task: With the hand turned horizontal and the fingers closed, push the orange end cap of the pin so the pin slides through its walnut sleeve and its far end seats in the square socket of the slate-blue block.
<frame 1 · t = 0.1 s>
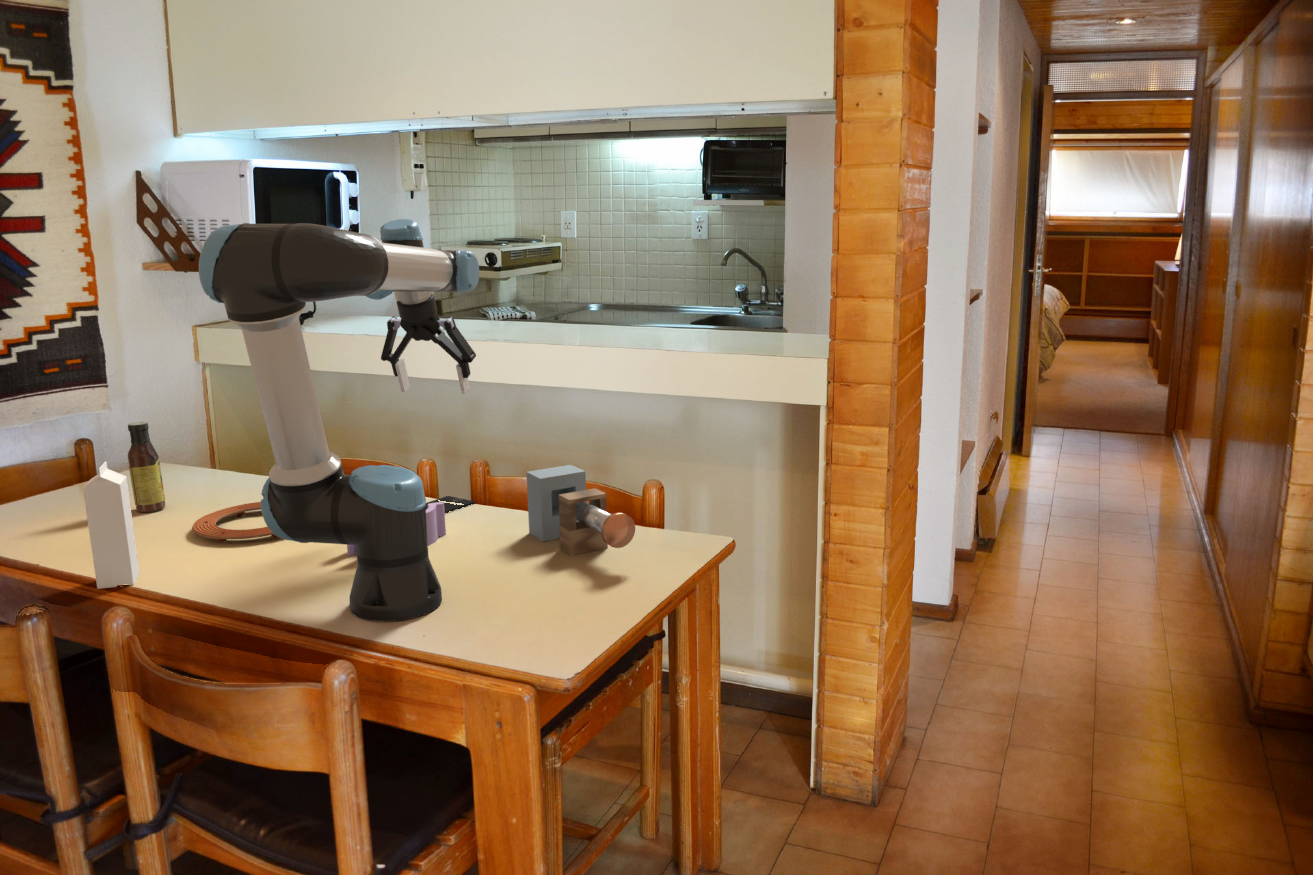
hand: (435, 389, 219), 28 cm above the table, tool tilted 20°, fingers open, 13 cm apart
ring: (258, 528, 221), on the table
socket block: (558, 532, 213), on the table
milk: (119, 582, 189), on the table
sauce bottle: (150, 510, 234), on the table
pin: (597, 518, 196), point 8 cm above the table, slide at 0.0 cm
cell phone: (433, 512, 230), on the table
sleeve: (584, 548, 203), on the table
clip: (396, 545, 208), on the table
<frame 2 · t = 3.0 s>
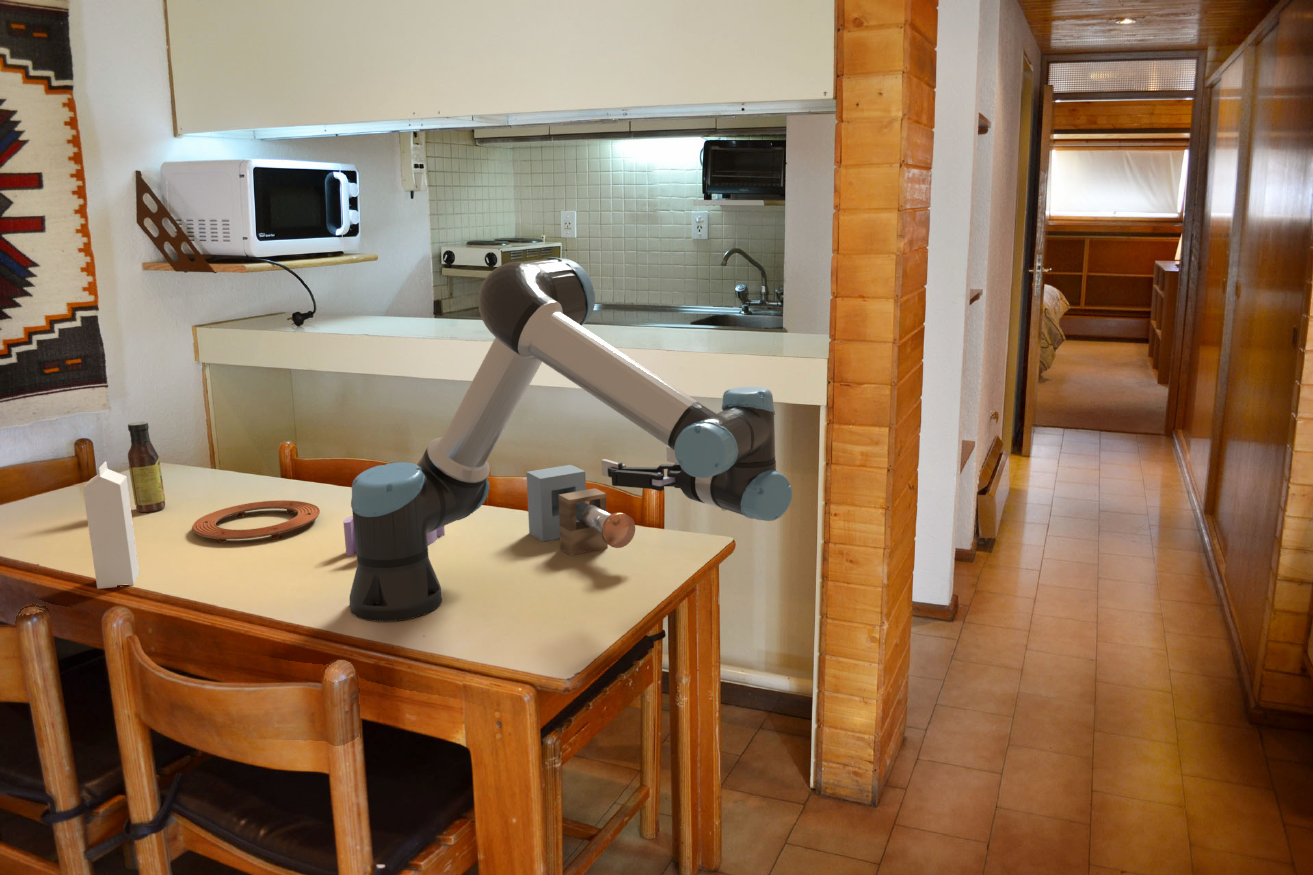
hand: (636, 460, 181), 22 cm above the table, tool horizontal, fingers open, 13 cm apart
nothing on the table moved.
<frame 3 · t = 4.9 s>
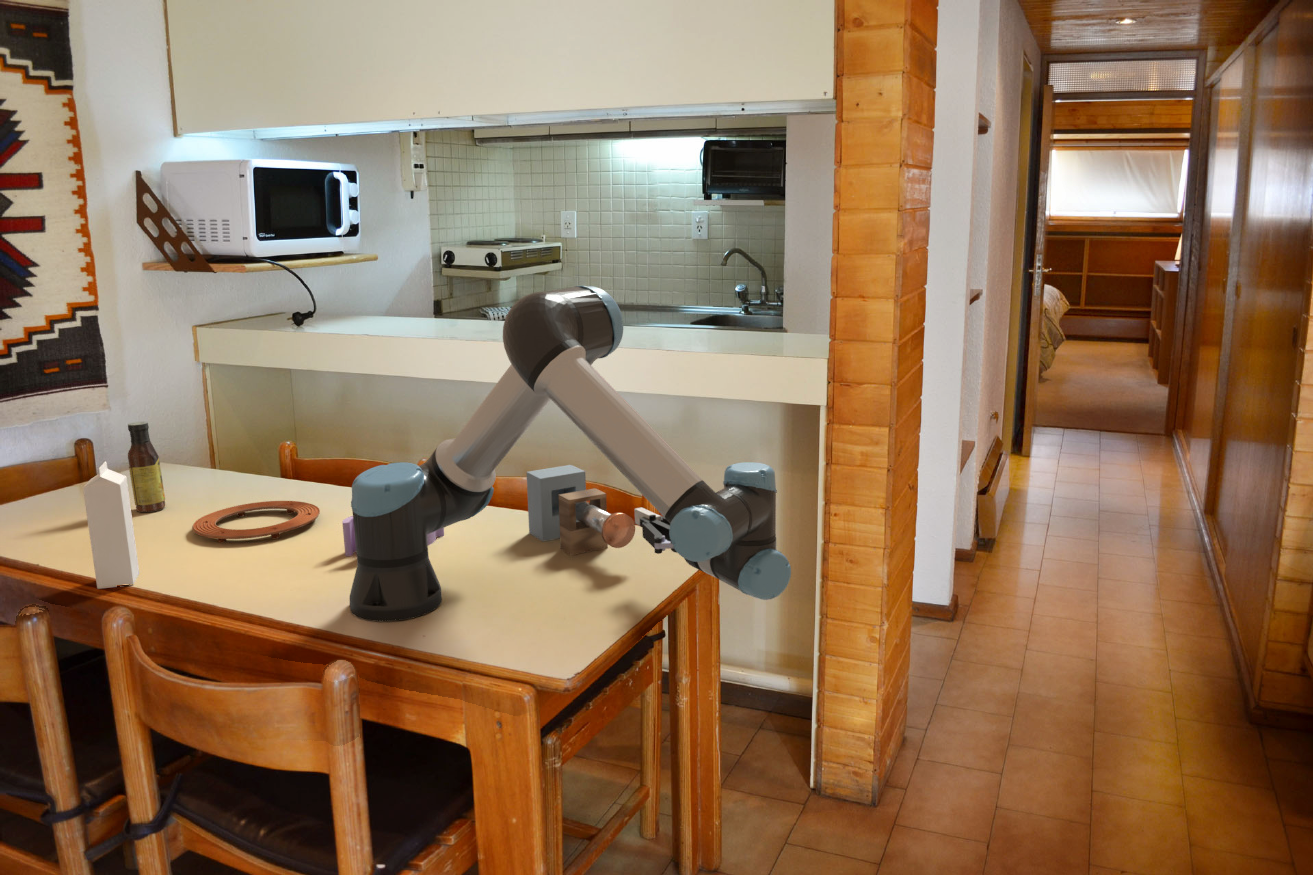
hand: (638, 515, 183), 12 cm above the table, tool horizontal, fingers closed
nothing on the table moved.
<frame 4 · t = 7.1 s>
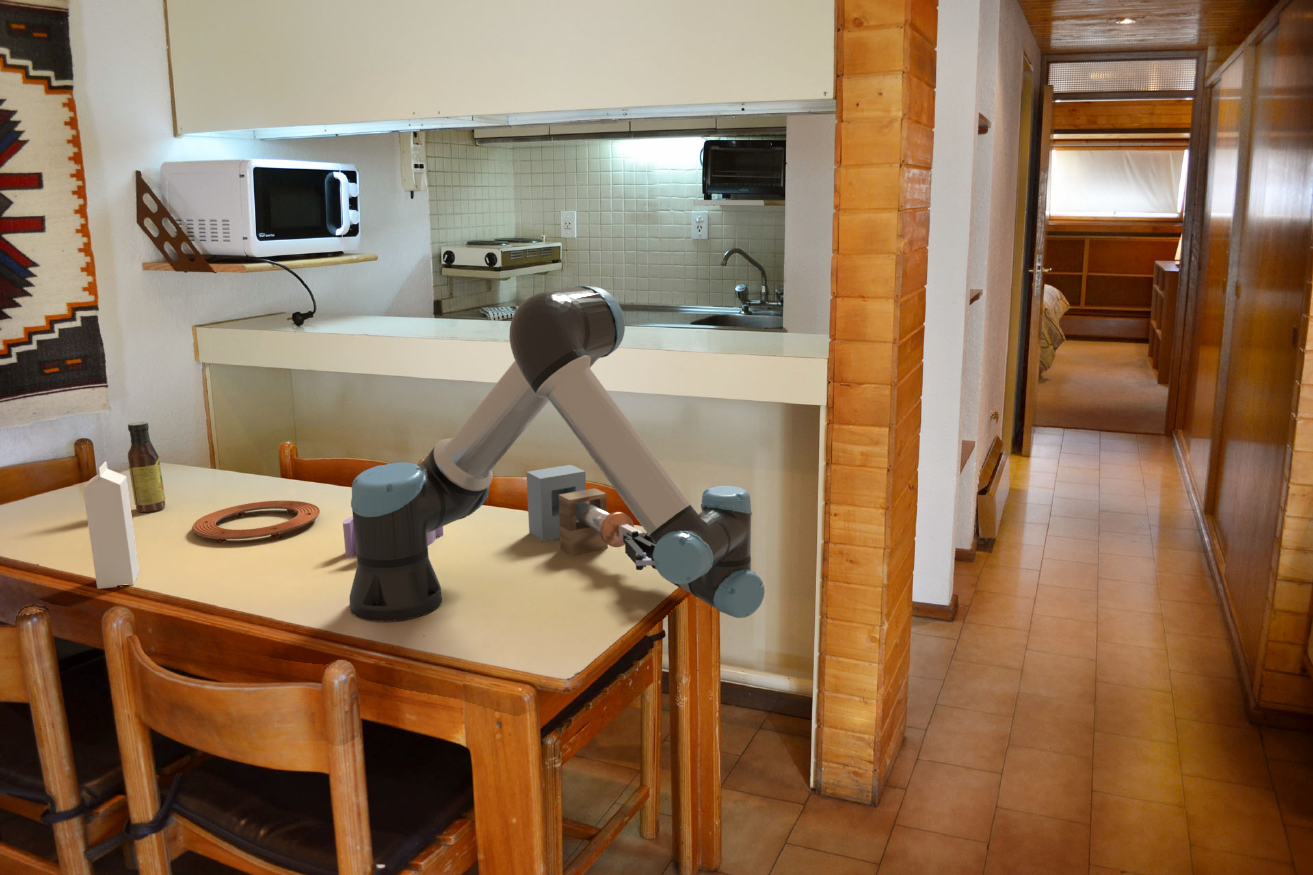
hand: (622, 530, 189), 7 cm above the table, tool horizontal, fingers closed
pin: (596, 518, 197), point 8 cm above the table, slide at 0.5 cm, touching gripper
everything else where it was.
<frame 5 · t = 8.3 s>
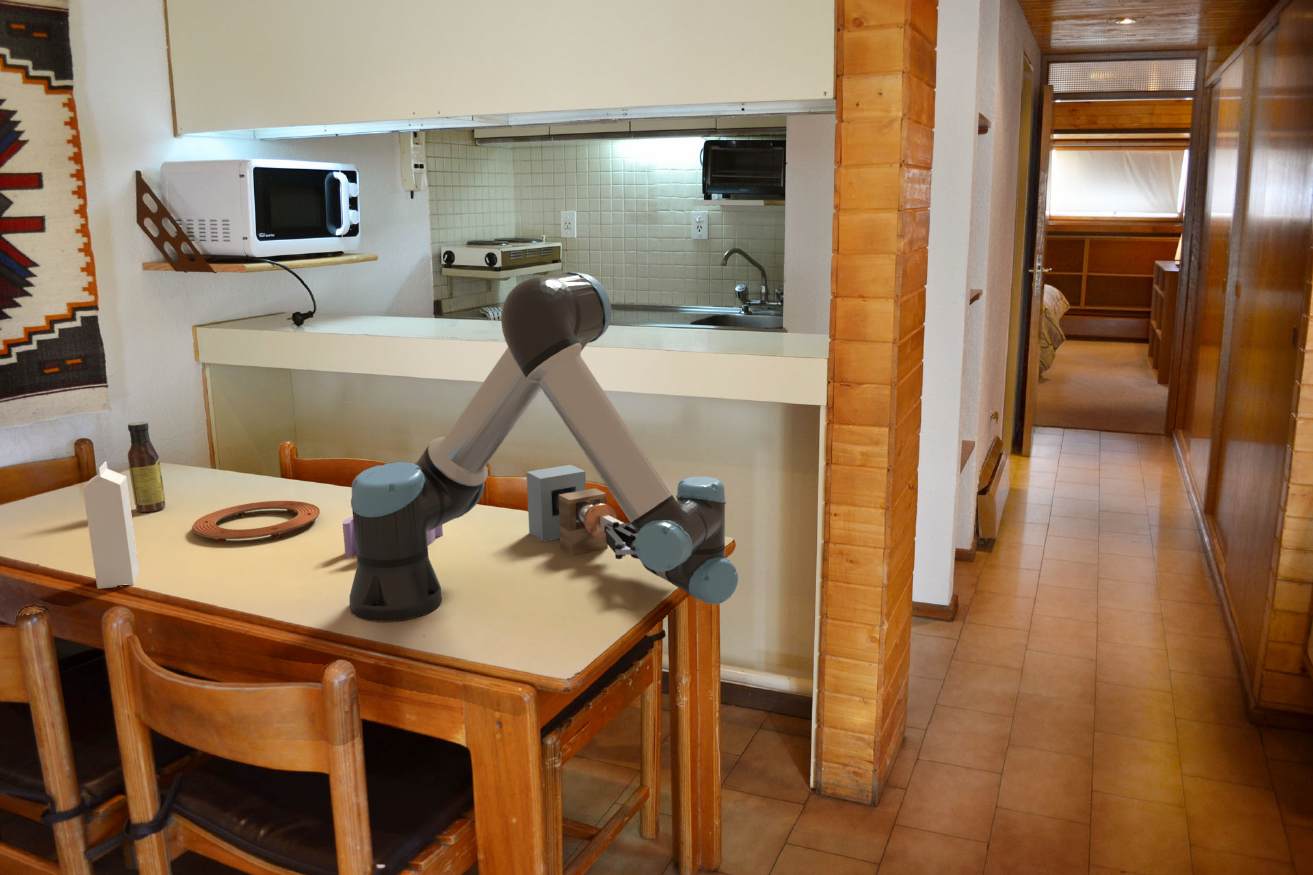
hand: (603, 521, 195), 7 cm above the table, tool horizontal, fingers closed
pin: (580, 509, 202), point 8 cm above the table, slide at 7.0 cm, touching gripper
everything else where it was.
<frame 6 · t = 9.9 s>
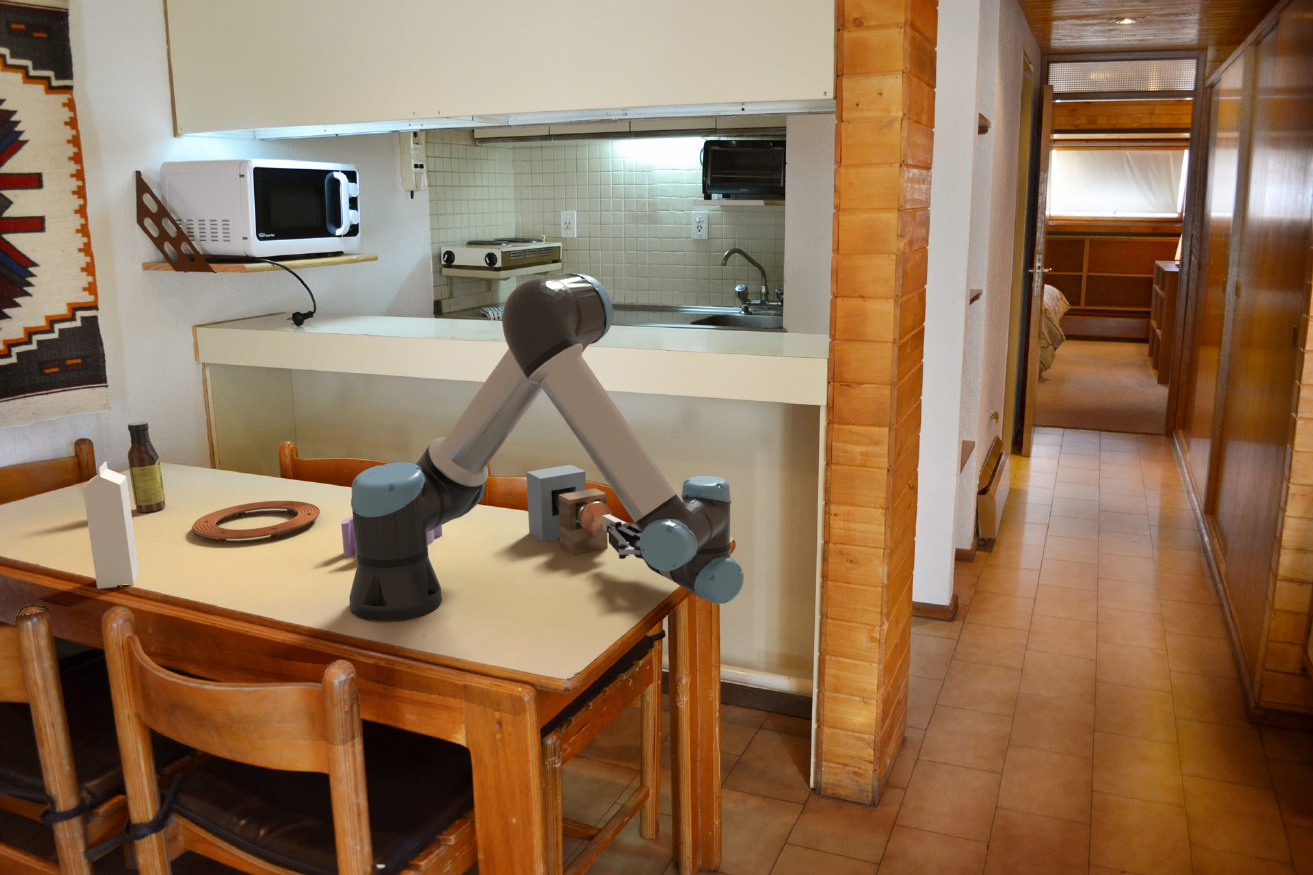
hand: (605, 521, 194), 8 cm above the table, tool horizontal, fingers closed
pin: (576, 507, 204), point 8 cm above the table, slide at 8.8 cm
everything else where it was.
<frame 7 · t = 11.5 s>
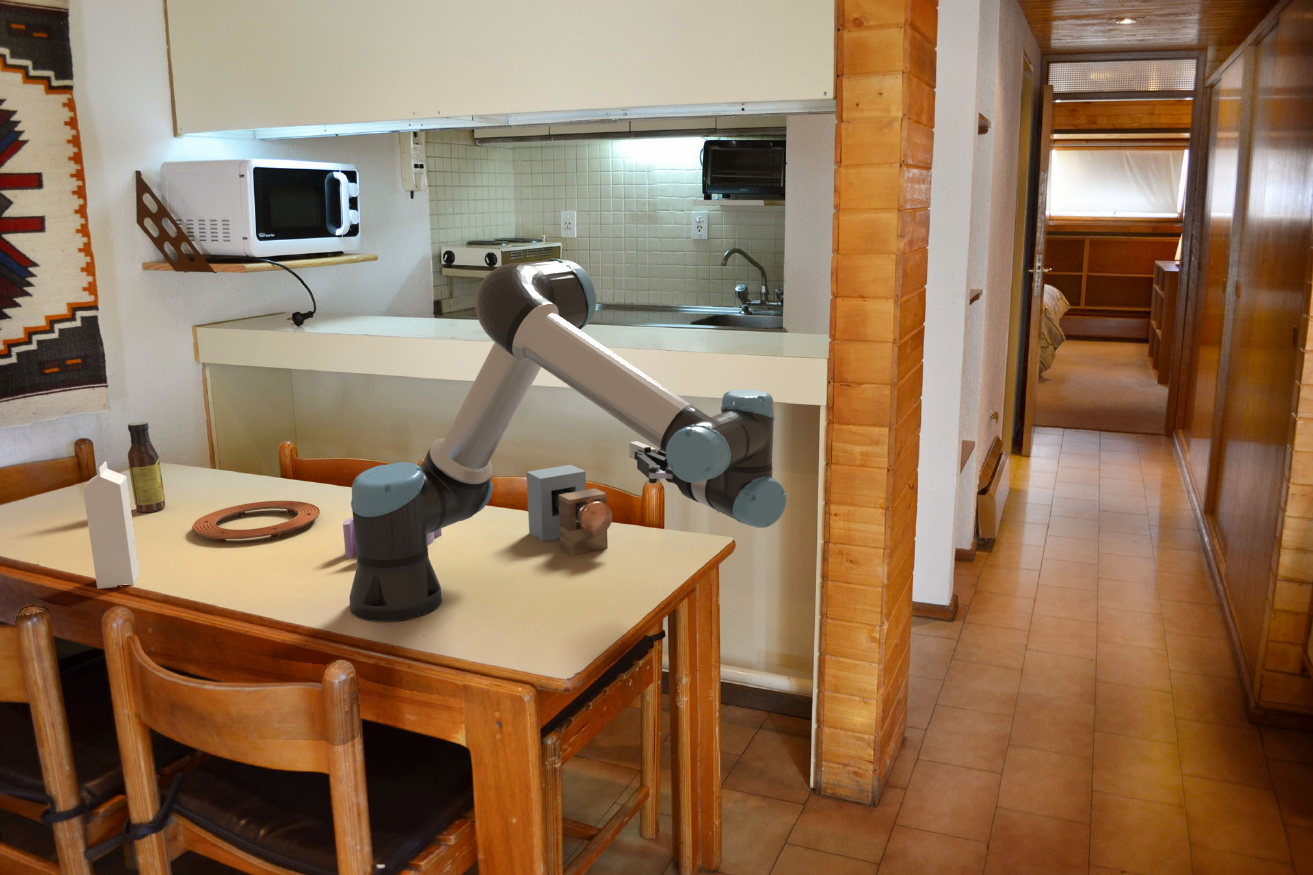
hand: (633, 449, 181), 24 cm above the table, tool horizontal, fingers closed
nothing on the table moved.
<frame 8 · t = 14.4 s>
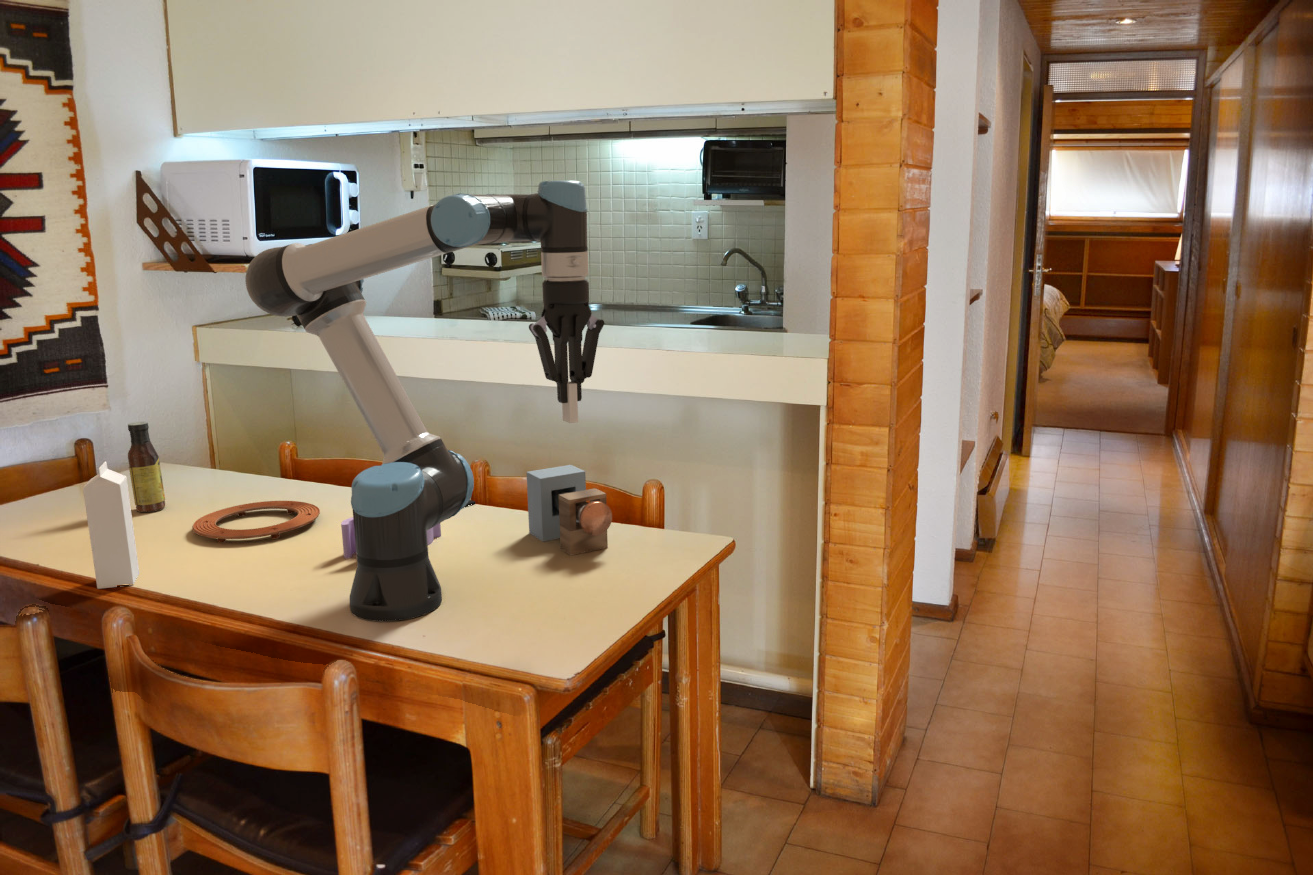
hand: (570, 421, 173), 30 cm above the table, tool pointing down, fingers closed
at the end: pin slide at 8.8 cm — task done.
